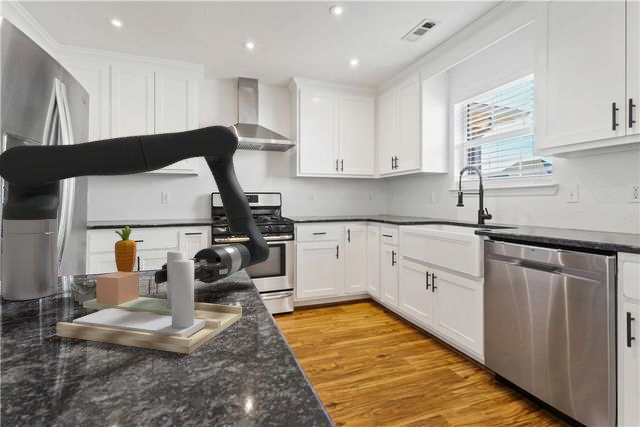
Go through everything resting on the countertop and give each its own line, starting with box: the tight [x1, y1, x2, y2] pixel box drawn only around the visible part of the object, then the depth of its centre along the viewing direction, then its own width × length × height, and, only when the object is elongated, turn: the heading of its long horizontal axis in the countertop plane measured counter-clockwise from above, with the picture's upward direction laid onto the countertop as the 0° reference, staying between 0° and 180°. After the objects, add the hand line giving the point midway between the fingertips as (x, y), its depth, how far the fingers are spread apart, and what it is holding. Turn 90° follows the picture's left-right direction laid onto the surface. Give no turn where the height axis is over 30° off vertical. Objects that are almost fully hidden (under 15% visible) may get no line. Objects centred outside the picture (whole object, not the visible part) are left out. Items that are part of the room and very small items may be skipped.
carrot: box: [114, 225, 137, 273], centre depth 87 cm, size 5×5×15 cm
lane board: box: [56, 296, 243, 355], centre depth 57 cm, size 24×16×2 cm, turn 76°
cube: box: [95, 270, 140, 305], centre depth 64 cm, size 5×5×5 cm
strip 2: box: [82, 250, 197, 315], centre depth 63 cm, size 20×6×11 cm, turn 76°
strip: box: [72, 259, 205, 337], centre depth 53 cm, size 20×6×11 cm, turn 76°
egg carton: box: [69, 279, 96, 306], centre depth 73 cm, size 11×8×4 cm
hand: (166, 278), depth 58 cm, fingers closed on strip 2, 3 cm apart
